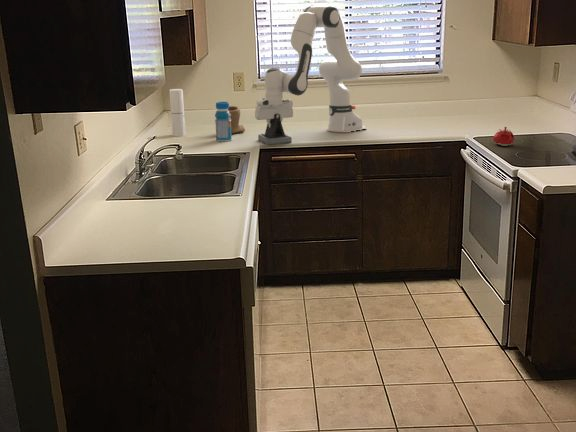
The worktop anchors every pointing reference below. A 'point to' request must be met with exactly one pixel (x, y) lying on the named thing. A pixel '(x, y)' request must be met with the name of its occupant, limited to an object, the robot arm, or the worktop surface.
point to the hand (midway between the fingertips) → (274, 127)
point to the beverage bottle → (223, 122)
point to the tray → (274, 139)
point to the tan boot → (235, 120)
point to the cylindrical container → (177, 112)
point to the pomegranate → (504, 137)
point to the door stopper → (275, 128)
